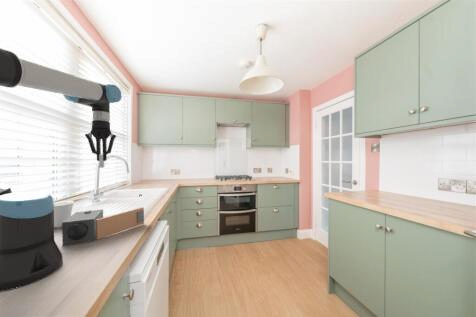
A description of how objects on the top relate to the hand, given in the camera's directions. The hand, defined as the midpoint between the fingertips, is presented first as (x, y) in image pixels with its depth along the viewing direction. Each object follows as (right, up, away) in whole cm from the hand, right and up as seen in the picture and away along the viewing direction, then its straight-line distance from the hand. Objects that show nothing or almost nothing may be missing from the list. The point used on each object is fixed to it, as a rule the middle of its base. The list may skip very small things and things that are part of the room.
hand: (102, 167), depth 95 cm
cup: (-18, -29, -3) cm, 34 cm away
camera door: (+17, -28, -11) cm, 35 cm away
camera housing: (+4, -29, -15) cm, 33 cm away
